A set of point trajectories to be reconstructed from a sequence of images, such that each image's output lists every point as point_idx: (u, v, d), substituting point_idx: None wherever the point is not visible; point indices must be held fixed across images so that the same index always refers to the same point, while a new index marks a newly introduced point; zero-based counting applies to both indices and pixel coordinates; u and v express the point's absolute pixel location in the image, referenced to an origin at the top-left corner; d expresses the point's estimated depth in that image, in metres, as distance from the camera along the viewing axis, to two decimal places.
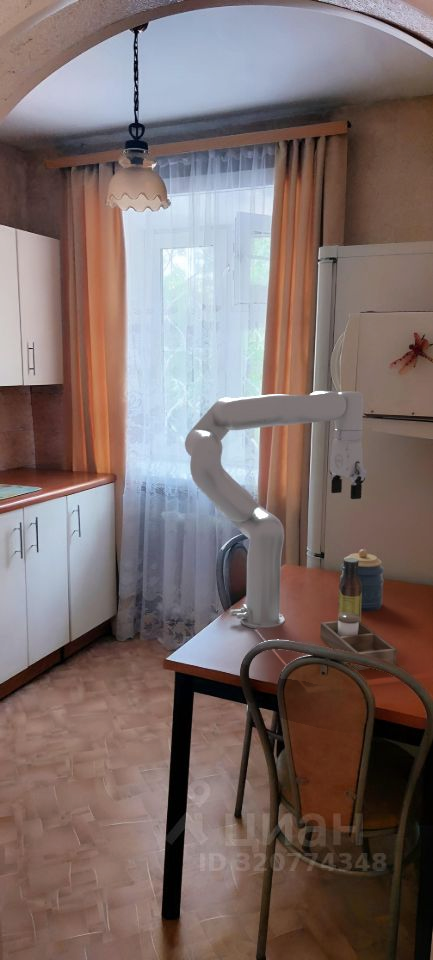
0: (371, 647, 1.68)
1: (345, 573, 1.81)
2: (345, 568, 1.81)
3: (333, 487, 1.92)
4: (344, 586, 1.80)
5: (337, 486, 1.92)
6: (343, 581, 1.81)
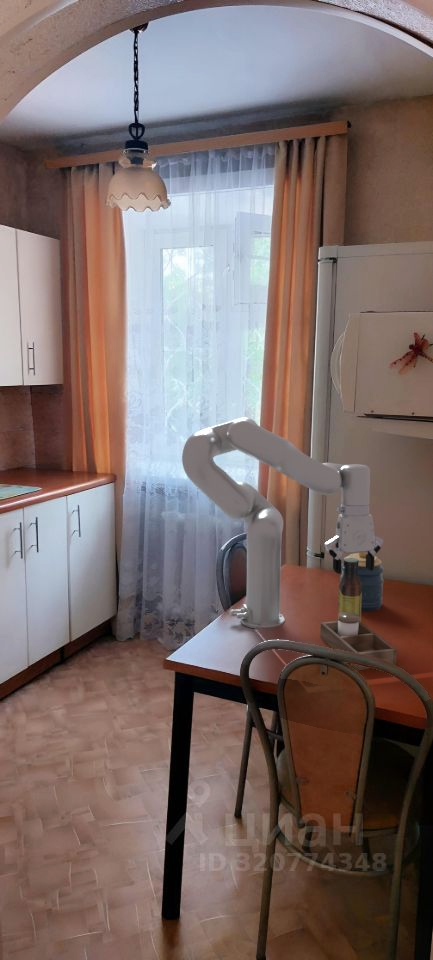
0: (371, 647, 1.68)
1: (345, 573, 1.81)
2: (345, 568, 1.81)
3: (340, 567, 1.79)
4: (344, 586, 1.80)
5: None
6: (343, 581, 1.81)
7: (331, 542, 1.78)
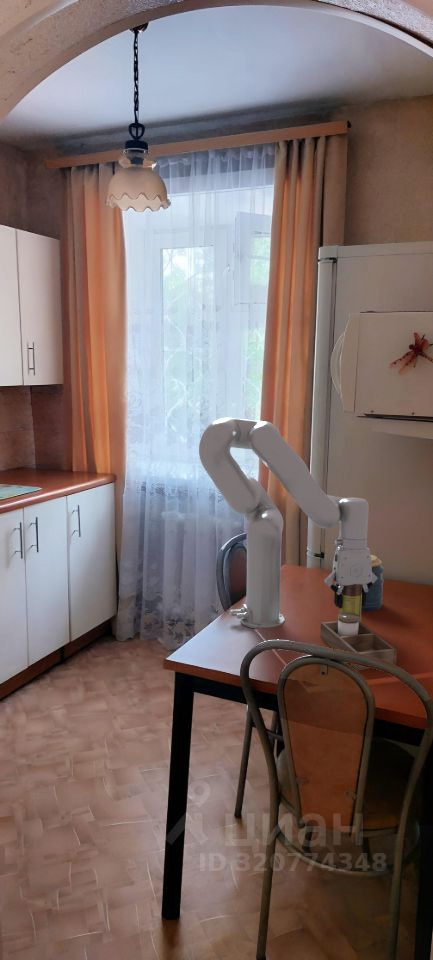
0: (371, 647, 1.68)
1: None
2: None
3: (341, 602, 1.81)
4: (345, 586, 1.80)
5: None
6: None
7: (330, 578, 1.80)
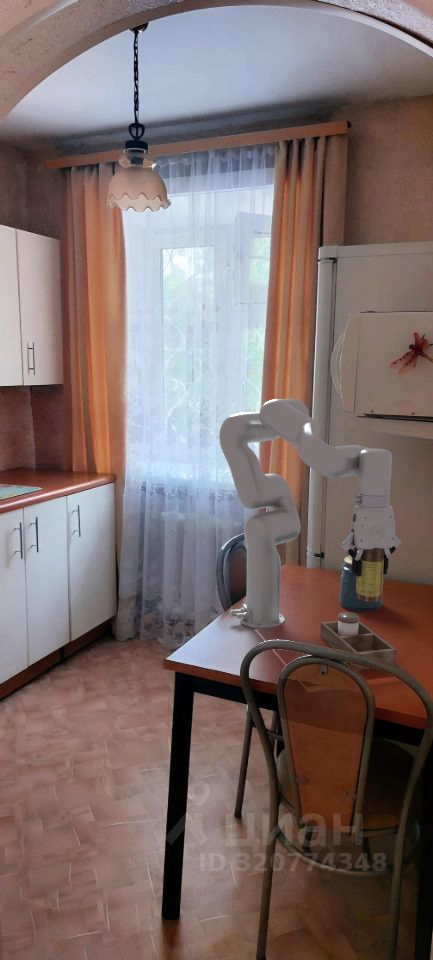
0: (371, 647, 1.68)
1: None
2: None
3: (360, 569, 1.57)
4: (364, 550, 1.56)
5: None
6: None
7: (348, 541, 1.56)
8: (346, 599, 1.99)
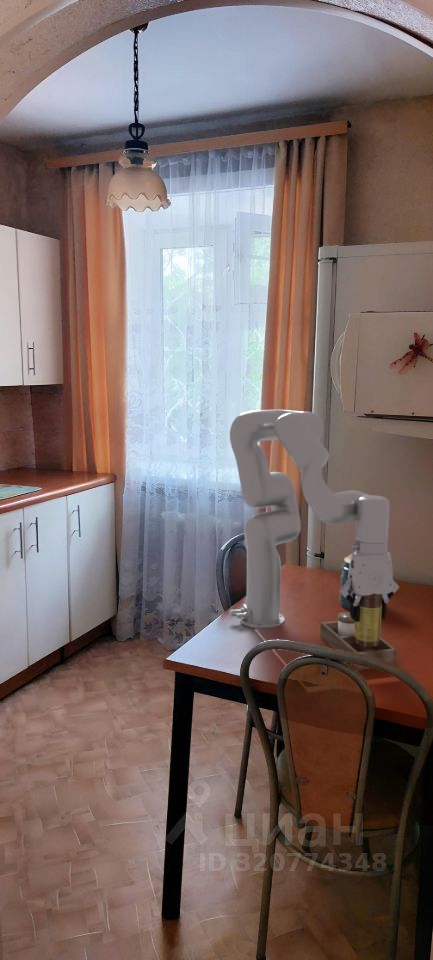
0: (371, 647, 1.68)
1: None
2: None
3: None
4: (362, 596, 1.58)
5: None
6: None
7: (346, 587, 1.58)
8: (346, 599, 1.99)
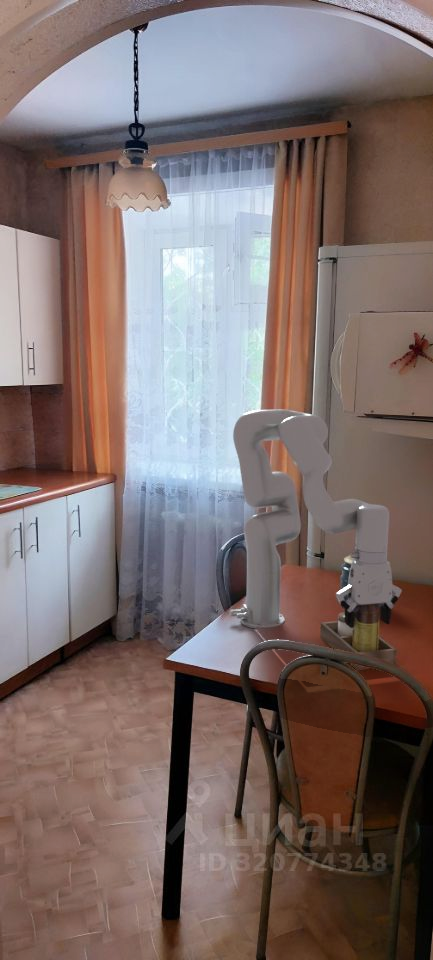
0: None
1: None
2: None
3: (353, 620, 1.59)
4: (360, 611, 1.59)
5: None
6: (358, 605, 1.60)
7: (343, 592, 1.58)
8: (346, 599, 1.99)
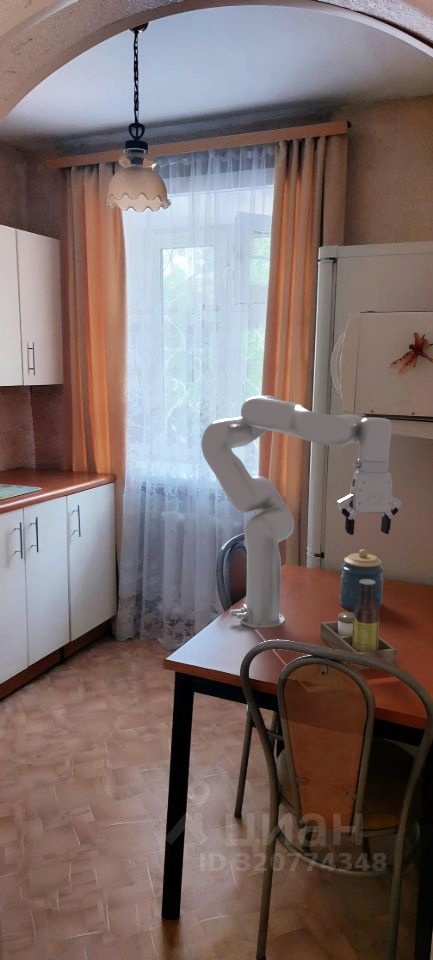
0: None
1: (361, 597, 1.59)
2: (361, 591, 1.59)
3: (353, 528, 1.66)
4: (360, 611, 1.59)
5: None
6: (358, 605, 1.60)
7: (345, 500, 1.65)
8: (346, 599, 1.99)
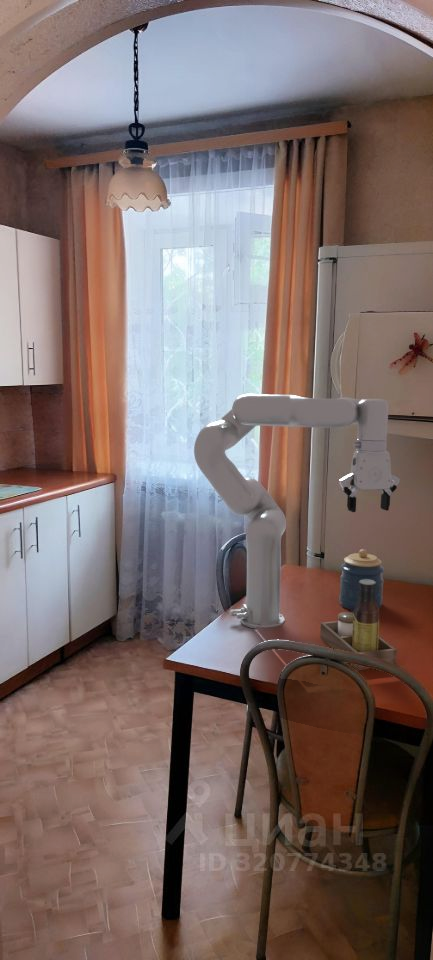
0: None
1: (361, 597, 1.59)
2: (361, 591, 1.59)
3: (355, 505, 1.73)
4: (360, 611, 1.59)
5: None
6: (358, 605, 1.60)
7: (346, 479, 1.72)
8: (346, 599, 1.99)
